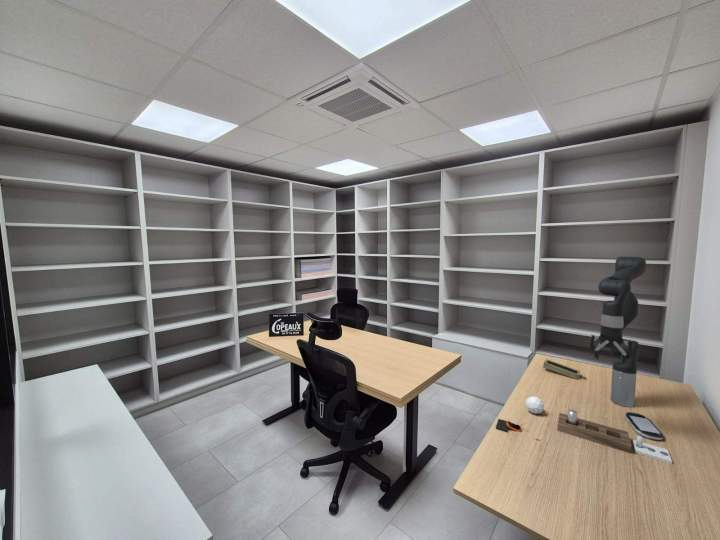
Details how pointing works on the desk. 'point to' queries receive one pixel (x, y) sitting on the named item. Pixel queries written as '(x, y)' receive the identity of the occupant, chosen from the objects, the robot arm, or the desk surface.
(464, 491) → the desk surface
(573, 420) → the steel pin
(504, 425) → the multimeter
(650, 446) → the white plate with peg
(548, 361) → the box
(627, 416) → the gaming console
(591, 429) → the pin board
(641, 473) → the desk surface
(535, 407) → the geometric ball
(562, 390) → the desk surface
